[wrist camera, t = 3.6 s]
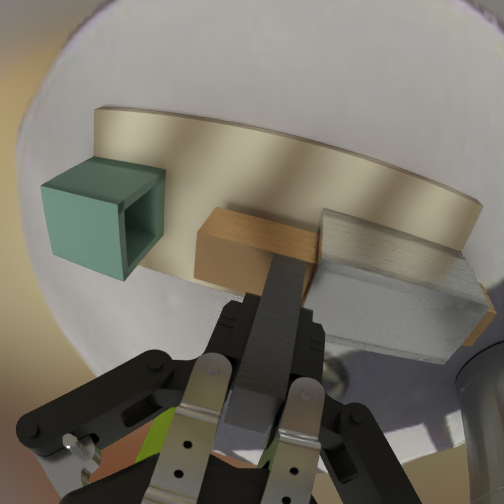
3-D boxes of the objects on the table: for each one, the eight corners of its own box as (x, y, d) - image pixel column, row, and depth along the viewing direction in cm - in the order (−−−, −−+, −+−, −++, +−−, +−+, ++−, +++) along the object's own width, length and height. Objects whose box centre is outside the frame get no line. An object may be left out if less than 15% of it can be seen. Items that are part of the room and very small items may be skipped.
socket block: (166, 169, 19) (117, 204, 14) (163, 235, 21) (123, 281, 17) (94, 156, 19) (40, 185, 15) (97, 216, 22) (53, 254, 17)
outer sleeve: (460, 251, 17) (490, 306, 12) (428, 306, 20) (443, 364, 15) (323, 207, 18) (321, 258, 13) (301, 273, 21) (292, 333, 16)
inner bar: (481, 283, 16) (534, 418, 7) (459, 315, 18) (494, 448, 9) (215, 207, 18) (118, 344, 9) (210, 249, 19) (130, 388, 11)
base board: (476, 199, 16) (483, 206, 15) (404, 328, 23) (406, 337, 22) (103, 106, 18) (94, 109, 17) (108, 246, 25) (101, 252, 24)
